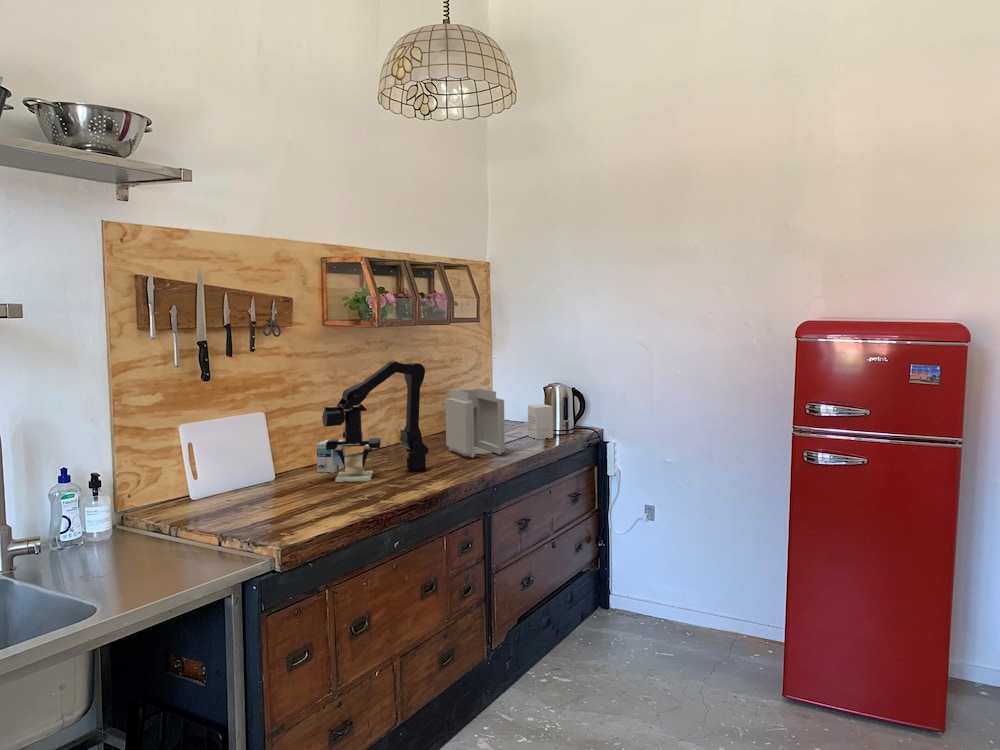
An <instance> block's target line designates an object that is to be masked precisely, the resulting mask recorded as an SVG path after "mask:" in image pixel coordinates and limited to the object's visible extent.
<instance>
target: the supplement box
mask: <svg viewBox="0 0 1000 750" xmlns="http://www.w3.org/2000/svg"><path fill="white" fill-rule="evenodd" d="M553 411H554V407H553V405H548V404H534V405H533V404H532V405H527V434H528V436H529V437H528V436H527V437H528V438H530V437H532V438H531V439H533V438H535V439H534V440H536V439H538V440H546V438H548V439H553V438H554V412H553Z"/></svg>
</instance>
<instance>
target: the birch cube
mask: <svg viewBox="0 0 1000 750" xmlns="http://www.w3.org/2000/svg"><path fill="white" fill-rule="evenodd" d="M344 458H345V468H344V472H345V474H362V473H363V471H365V469H364V468H365V467H364V468H363V453H345V457H344Z"/></svg>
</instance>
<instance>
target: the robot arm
mask: <svg viewBox="0 0 1000 750" xmlns="http://www.w3.org/2000/svg"><path fill="white" fill-rule="evenodd" d="M396 373H398V374H403V375H404V380H405V383H406V387H407V395H406V416H405V417H406V421H405V423H406V424H405V426H404V429H400V430H399V431H400V436H399V437H400V438H399V441H400V443H401V445H402V447H403V448H405V450H406V453H407V454H408V456H407V457H406V469H407V471H408V472H424V471H423V470H426V471H427V465H426V464H427V463H426V462H427V460H426V459H427V458H426V455H428V454H429V447H427V445H426V444H424V443H423V435H422V431H421V429H420V425H419V424H420V404H421V403H420V400H421V399H420V397H421V396H420V395H421V387H422V385H423V383H424V379H425V374H426V368H425V367H424V365H423V364H421V363H419V362H408V363H402V362H398V361H394V360H390V361H388V362H387V363H386V364H385V365H383V366H382V367H381V368H380V369H378V370H376V371H375V372H374V373H373V374H371V375H370V376H368V377H367V378H366V379H365V380H363V381H361V382H359V383H358V384H354V385H352V386H349V387H347V388H346V389H345V390H344V391H342V395H341V398H340V400H339V402H338V403H337V405H336V406H324V407H323V409H324V410H323V411H322V412H323V413H322V416H321V418H322V419H321V421H322V424H323V426H324V428H326V427H337V426H338V427H339V426H342V425H343V424H344V428H342V438H343V439H345V440H344V441H342V442H339V440H340V439H339V438H336V439H335V438H333V439H332V438H331V439H330V438H329V440H328V439H327V440H328V441H327V443H326V450H334V452H337V453H338V455H339V456H340V458H341V460H342V463H343V465H344V467H345V458H344V457H345V456H346V453H345V452H346V451H345V447H347V448H348V447H364V448H363V453H362V454H363V468H365V465H366V461H367V457H368V455H369V452H371V451H373V449H381V447H382V439H381V438H380V437H371V438H369V439H368V440H364V438H363V437H364V435H363V434H364V433H363V430H362V412H367V410H368V409H367V408H366V407H365V406H364V405H363V404H362V402H363V401H364V400H365V399H366V398H367V396H368V395H369V394H370V393H371V392H372V390H375V389H376V388H377V387H378V386H380V385H381V384H382V383H383V382H385V381H386V380H388V379H389V378H390V377H391V376H392V375H395V374H396Z"/></svg>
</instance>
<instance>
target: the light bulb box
mask: <svg viewBox="0 0 1000 750" xmlns="http://www.w3.org/2000/svg"><path fill="white" fill-rule="evenodd" d="M329 439H330V438H329ZM329 439H325V440H323V441H321V442H318V443H316V460H317V462H316V463H317V465H316V467H317V473H327V472H330V474H331V473H333V474H334V473H336V472H338V471H340V470H342V468H343V469H345V468H344V465H343V463H342V460H341V458H340V456H339V455H338V453H337V452H334V450H326V443H327V441H328V440H329ZM342 441H345V440H344V439H339V442H342Z"/></svg>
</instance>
